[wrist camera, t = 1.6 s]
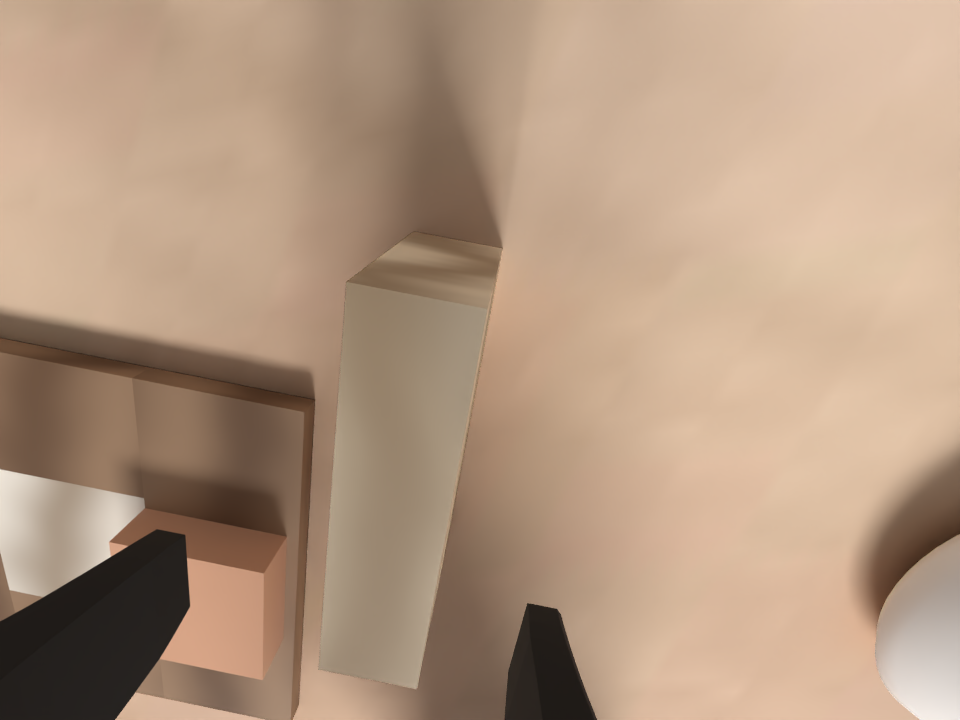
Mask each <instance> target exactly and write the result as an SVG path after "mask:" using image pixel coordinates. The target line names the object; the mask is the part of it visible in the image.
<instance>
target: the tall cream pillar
mask: <svg viewBox="0 0 960 720" xmlns="http://www.w3.org/2000/svg"><path fill="white" fill-rule="evenodd" d="M502 250H503V248H498V247H493V246H488V245H482V244H477V243H472V242H467V241H461V240H456V239H451V238H446V237H440V236H435V235H430V234H425V233H419V232H412V233H411V234H410V235H408V236H407V237H406V238H404V239H403V240H402V241H400V242H399V243H398V244H396V245H395V246H394V247H392V248H391V249H390V250H388V251H387V252H386V253H384V254H383V255H382V256H380V257H379V258H378V259H376V260H375V261H374V262H372V263H371V264H370V265H368V266H367V267H366V268H364V269H363V270H362V271H360V272H359V273H358V274H356V275H355V276H354V277H352V278H351V279H350V280H348V281H347V282H346V293H345V307H344V321H343V335H342V349H341V363H340V377H339V391H338V405H337V418H336V432H335V446H334V460H333V474H332V488H331V502H330V516H329V530H328V544H327V557H326V571H325V585H324V599H323V613H322V627H321V641H320V655H319V669H318V670H323V671H328V672H333V673H338V674H343V675H348V676H353V677H358V678H363V679H368V680H373V681H378V682H383V683H388V684H392V685H397V686H402V687H407V688H412V689H417V687H418V682H419V677H420V672H421V667H422V663H423V658H424V653H425V648H426V643H427V638H428V633H429V629H430V624H431V619H432V614H433V609H434V604H435V599H436V594H437V590H438V585H439V580H440V575H441V570H442V565H443V560H444V556H445V551H446V546H447V541H448V536H449V531H450V526H451V521H452V515H453V510H454V505H455V499H456V494H457V489H458V483H459V478H460V473H461V468H462V462H463V457H464V452H465V446H466V441H467V436H468V430H469V425H470V420H471V414H472V409H473V404H474V399H475V393H476V388H477V383H478V377H479V372H480V367H481V361H482V356H483V351H484V346H485V340H486V335H487V330H488V324H489V319H490V314H491V308H492V303H493V298H494V292H495V287H496V282H497V277H498V271H499V266H500V261H501V255H502Z"/></svg>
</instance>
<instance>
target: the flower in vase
mask: <svg viewBox="0 0 960 720" xmlns="http://www.w3.org/2000/svg"><path fill="white" fill-rule="evenodd" d="M875 658H876V666H877V669H878V672H879V675H880V678H881V680H882V681H883V683H884V685H885V686H886V688H887V690H888V691H889V692H890V693H891V695H892V696H893V697H894V698H895V699H896V700H897V701H898V702H899V703H900V704H901V705H903V706H904V707H905V708H906V709H908V710H909V711H910V712H911V713H912V714H914V715H915V716H916V717H917V718H919V719H920V720H960V534H959V535H957V536H955V537H953V538H951V539H950V540H948V541H946V542H945V543H943V544H941V545H940V546H938V547H937V548H935V549H934V550H932V551H931V552H930V553H928V554H927V555H926V556H924V557H923V558H922V559H920V560H919V561H918V562H917V563H916V564H915V565H914V566H913V567H912V568H911V569H910V570H909V571H907V573H906V574H905V575H904V576H903V577H902V578H901V579H900V581H899V582H898V583H897V584H896V585H895V587H894V588H893V590H892V591H891V593H890V594H889V596H888V597H887V599H886V601H885V603H884V605H883V608H882V610H881V612H880V616H879V619H878V623H877V631H876V644H875Z"/></svg>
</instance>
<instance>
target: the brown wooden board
mask: <svg viewBox="0 0 960 720" xmlns="http://www.w3.org/2000/svg"><path fill="white" fill-rule="evenodd" d="M314 407H315V400H312V399H307V398H302V397H297V396H292V395H287V394H282V393H277V392H272V391H267V390H262V389H257V388H251V387H246V386H241V385H236V384H231V383H226V382H221V381H216V380H211V379H206V378H201V377H196V376H191V375H185V374H180V373H175V372H170V371H165V370H160V369H155V368H150V367H145V366H140V365H135V364H130V363H125V362H119V361H114V360H109V359H104V358H99V357H94V356H89V355H84V354H79V353H74V352H69V351H64V350H59V349H54V348H48V347H43V346H38V345H33V344H28V343H23V342H18V341H13V340H8V339H3V338H0V621H2V620H4V619H5V618H7V617H9V616H11V615H13V614H15V613H16V612H18V611H20V610H22V609H24V608H25V607H27V606H29V605H31V604H33V603H34V602H36V601H38V600H39V599H41V598H43V597H45V596H46V595H48V594H50V593H51V592H53V591H55V590H56V589H58V588H60V587H61V586H63V585H65V584H66V583H68V582H70V581H72V580H73V579H75V578H77V577H78V576H80V575H82V574H83V573H85V572H87V571H88V570H90V569H92V568H93V567H95V566H96V565H98V564H100V563H101V562H103V561H105V560H106V559H108V558H110V557H111V554H110V547H109V541H110V540H111V539H113V538H114V537H115V536H116V535H117V534H118V533H119V532H120V531H121V530H122V529H123V528H124V527H125V526H126V525H127V524H129V523H130V522H131V521H132V520H133V519H134V518H135V517H136V516H137V515H138V514H139V513H140V512H141V511H142V510H143V509H145V508H147V509H152V510H157V511H162V512H167V513H172V514H177V515H182V516H187V517H192V518H197V519H202V520H207V521H212V522H217V523H222V524H227V525H232V526H236V527H241V528H246V529H251V530H256V531H261V532H266V533H271V534H276V535H281V536H286V537H287V549H286V579H285V609H284V639H283V641H282V643H281V645H280V647H279V649H278V651H277V653H276V655H275V657H274V659H273V661H272V663H271V665H270V667H269V669H268V671H267V673H266V675H265V677H264V679H263V680H259V679H254V678H249V677H245V676H240V675H235V674H230V673H225V672H220V671H216V670H211V669H206V668H201V667H196V666H191V665H187V664H182V663H177V662H172V661H167V660H162V659H159V660H158V662H157V663H156V665H155V666H154V667H153V669H152V670H151V671H150V673H149V674H148V676H147V677H146V678H145V680H144V681H143V682H142V684H141V685H140V687H139V688H138V689H137V691H136V693H141V694H146V695H151V696H156V697H160V698H165V699H170V700H175V701H180V702H184V703H189V704H194V705H199V706H204V707H208V708H213V709H218V710H223V711H228V712H233V713H237V714H242V715H247V716H252V717H257V718H261V719H266V720H293V717H294V715H295V713H296V710H297V708H298V705H299V690H300V671H301V653H302V634H303V615H304V596H305V577H306V558H307V539H308V520H309V502H310V483H311V464H312V445H313V426H314Z"/></svg>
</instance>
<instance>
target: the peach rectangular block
mask: <svg viewBox="0 0 960 720" xmlns="http://www.w3.org/2000/svg"><path fill="white" fill-rule="evenodd" d="M156 529H159V530H164V531H169V532H174V533H179V534H184V535H185V536H186V551H187V565H188V580H189V595H190V608H189V610H188V611H187V613H186V615H185V617H184V619H183V620H182V622H181V624H180V626H179V627H178V629H177V631H176V633H175V634H174V636H173V638H172V639H171V641H170V643H169V644H168V646H167V648H166V649H165V651H164V653H163V654H162V656H161V658H160V659H162V660H167V661H172V662H177V663H182V664H187V665H191V666H196V667H201V668H206V669H211V670H216V671H220V672H225V673H230V674H235V675H240V676H245V677H249V678H254V679H259V680H263V679H264V677H265V675H266V673H267V671H268V669H269V667H270V665H271V663H272V661H273V659H274V657H275V655H276V653H277V651H278V649H279V647H280V645H281V643H282V641H283V639H284V609H285V579H286V549H287V537H286V536H281V535H276V534H271V533H266V532H261V531H256V530H251V529H246V528H241V527H236V526H232V525H227V524H222V523H217V522H212V521H207V520H202V519H197V518H192V517H187V516H182V515H177V514H172V513H167V512H162V511H157V510H152V509H147V508H145V509H143V510H142V511H141V512H140V513H139V514H138V515H137V516H136V517H135V518H134V519H133V520H132V521H131V522H130V523H129V524H127V525H126V526H125V527H124V528H123V529H122V530H121V531H120V532H119V533H118V534H117V535H116V536H115V537H114V538H113V539H111V540H110V541H109V547H110V554H111V556H113V555H115V554H116V553H118V552H119V551H121V550H123V549H124V548H126V547H128V546H129V545H131V544H133V543H134V542H136V541H138V540H139V539H141V538H143V537H144V536H146V535H148V534H149V533H151V532H153V531H155V530H156Z"/></svg>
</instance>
